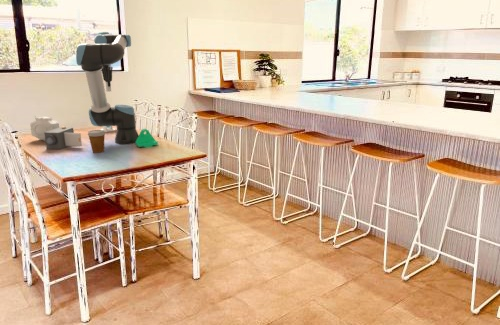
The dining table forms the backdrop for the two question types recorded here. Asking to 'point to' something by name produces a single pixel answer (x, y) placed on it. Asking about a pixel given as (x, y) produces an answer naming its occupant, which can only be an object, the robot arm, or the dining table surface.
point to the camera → (42, 126)
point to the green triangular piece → (145, 139)
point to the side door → (72, 139)
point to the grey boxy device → (56, 137)
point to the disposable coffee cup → (97, 140)
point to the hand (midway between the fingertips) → (108, 91)
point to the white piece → (107, 128)
